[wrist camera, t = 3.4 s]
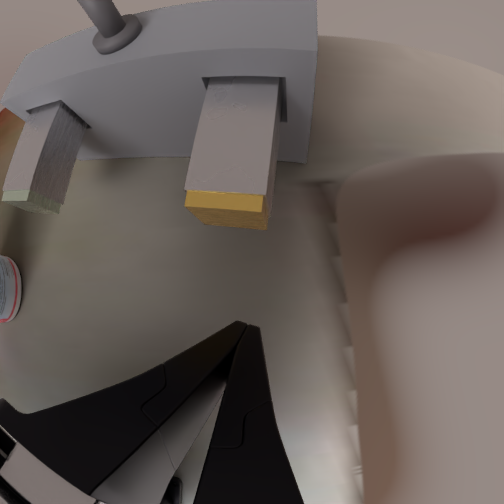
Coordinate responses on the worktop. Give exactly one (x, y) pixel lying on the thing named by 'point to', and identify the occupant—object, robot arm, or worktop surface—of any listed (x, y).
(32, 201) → the green button
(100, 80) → the switch panel
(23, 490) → the robot arm
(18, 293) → the pill bottle
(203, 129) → the mustard button
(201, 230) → the worktop surface
